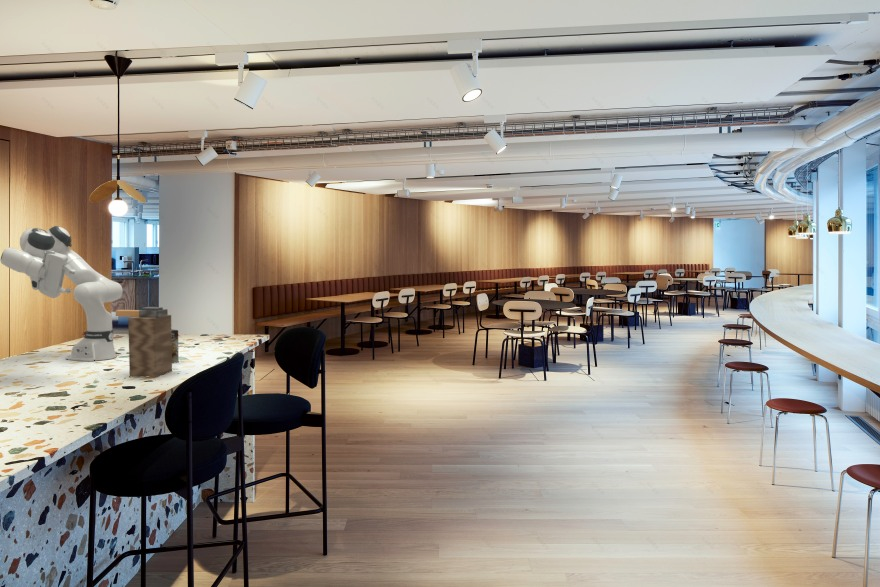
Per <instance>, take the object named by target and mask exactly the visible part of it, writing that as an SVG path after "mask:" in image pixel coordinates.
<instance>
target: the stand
mask: <svg viewBox="0 0 880 587" xmlns="http://www.w3.org/2000/svg"><path fill="white" fill-rule="evenodd" d="M138 310H139V309H138ZM127 321H128V322H127V323H128V360H129V361H128V363H129V367H128V368H129V377H130V376H151V377H150V378H158V377H160V375H161V376H163V375H165V373H166V374H168V373H170V372H173V363H172V334H171V329H172V314H168V309H167V308H163V310H159V311H146V310H142V309H141V310H139V317H131V316H130V317H128V320H127ZM167 372H168V373H167ZM162 374H163V375H162Z"/></svg>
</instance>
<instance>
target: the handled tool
mask: <svg viewBox="0 0 880 587" xmlns="http://www.w3.org/2000/svg"><path fill="white" fill-rule="evenodd" d="M163 309H164V308H163V307H162V306H145V307H141V310H146V311H159V310H163ZM115 317H130V318H131V317H139V309H138V310H137V309H117V310H115Z"/></svg>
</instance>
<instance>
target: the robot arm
mask: <svg viewBox="0 0 880 587" xmlns="http://www.w3.org/2000/svg"><path fill="white" fill-rule="evenodd" d="M19 246H20V249H21V250H20V249H17V248H13V247H10V246H9V247H6V248H5V249H4V250H3V251H2V253H1V256H0V263H1V264H2V265H3V266H5V267H6V268H9V269H10V270H13V271H15V272H18V273H23V274H25V275H26V276H28V277H29V279H30V283H31V288H32V289H33V290H34V291H37V290H38V292H39V293H41V294H42V295H44V296H47V297H49V298H52V299H54V298H57V297H60V295H61V293H67V294H71V293H72V288H70V287H67V288H64V287H63V284H64V279H65V276H66V277H68V278H67V279H69V280H70V281H71V282H72V283H73V284H74V285H76V286H75V287H74V288H73V297H74V299H75V301H76V302H77V303H78V304H80V305H81V307H82V308H83V311H84V312H85V317H86V331H85V332H83V333H82V334H81V335H83V338H82V339H80V341H78V342H77V343H75V345H73V346H72V347H71V348H72V349H71V352H70V355H67V356H66V357H65V359H66V360H67V359H68V361H69V360H70V361H71V360H72V361H79V362H80V361H81V362H94V360H95V361H103V360H111V359H115V358H117V353H116V351H115V345H114V330H113V315H112V313H111V312H109V311H107V309H106V307H105V305H104V304H105V303H112V302H114V301H116V300H117V301H118V300H119V299H120V298H122V296H123V292H124V291H123V290H124V289H123V287H122V285H121V284H120V283H119V282H117V281H115V280H111V279H109V278H107V277H106V276H104V275H102V274H101V273H99V272H98V271H96V270H95V269H94V268H92V266H90V265H89V264H88V263H87V261H86V260H85V259H84V258H83V257H81V255H79V254H78V252H76V251H74V250H73V249H71V248H72V247H73V245H72V237H71V234H70V233H69V232H68V230H67V229H66V228H64V227H62V226H59V225H54V226H51V227H50V228H49V229H48V230H47V231H46V229H41V228H38V227H31V228H27V229H25V230H24V231H23V232H22V233H21V235H20V238H19Z"/></svg>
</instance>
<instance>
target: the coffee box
mask: <svg viewBox="0 0 880 587" xmlns="http://www.w3.org/2000/svg"><path fill="white" fill-rule="evenodd" d="M171 334H172V364H174V362H176V363H179V362H180V361H179V359H180V358H179V330H178V329H172V328H171Z"/></svg>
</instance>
